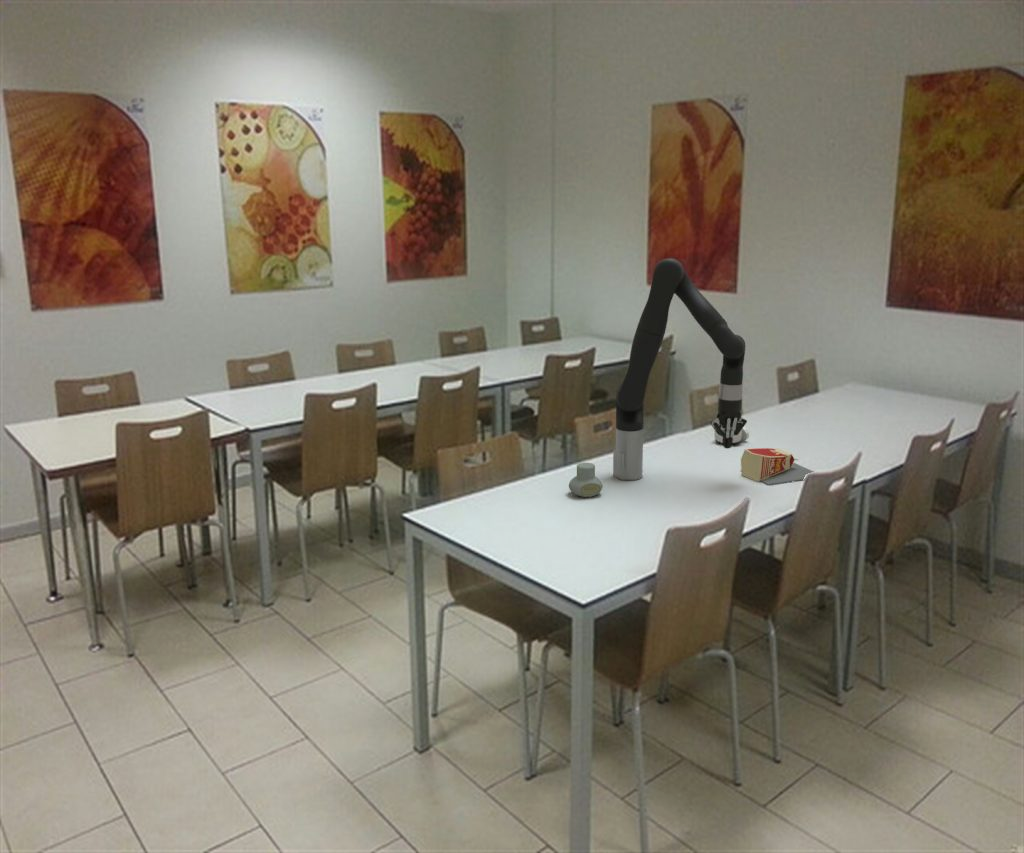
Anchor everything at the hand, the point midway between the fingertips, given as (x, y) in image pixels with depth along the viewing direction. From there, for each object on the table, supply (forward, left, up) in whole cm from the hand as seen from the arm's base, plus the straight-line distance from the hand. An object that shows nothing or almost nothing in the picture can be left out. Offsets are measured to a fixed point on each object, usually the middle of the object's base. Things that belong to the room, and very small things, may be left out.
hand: (727, 447), depth 284 cm
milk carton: (+9, +1, -7) cm, 12 cm away
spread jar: (+28, +40, -12) cm, 51 cm away
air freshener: (-48, +7, -12) cm, 50 cm away
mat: (+22, 0, -12) cm, 25 cm away
